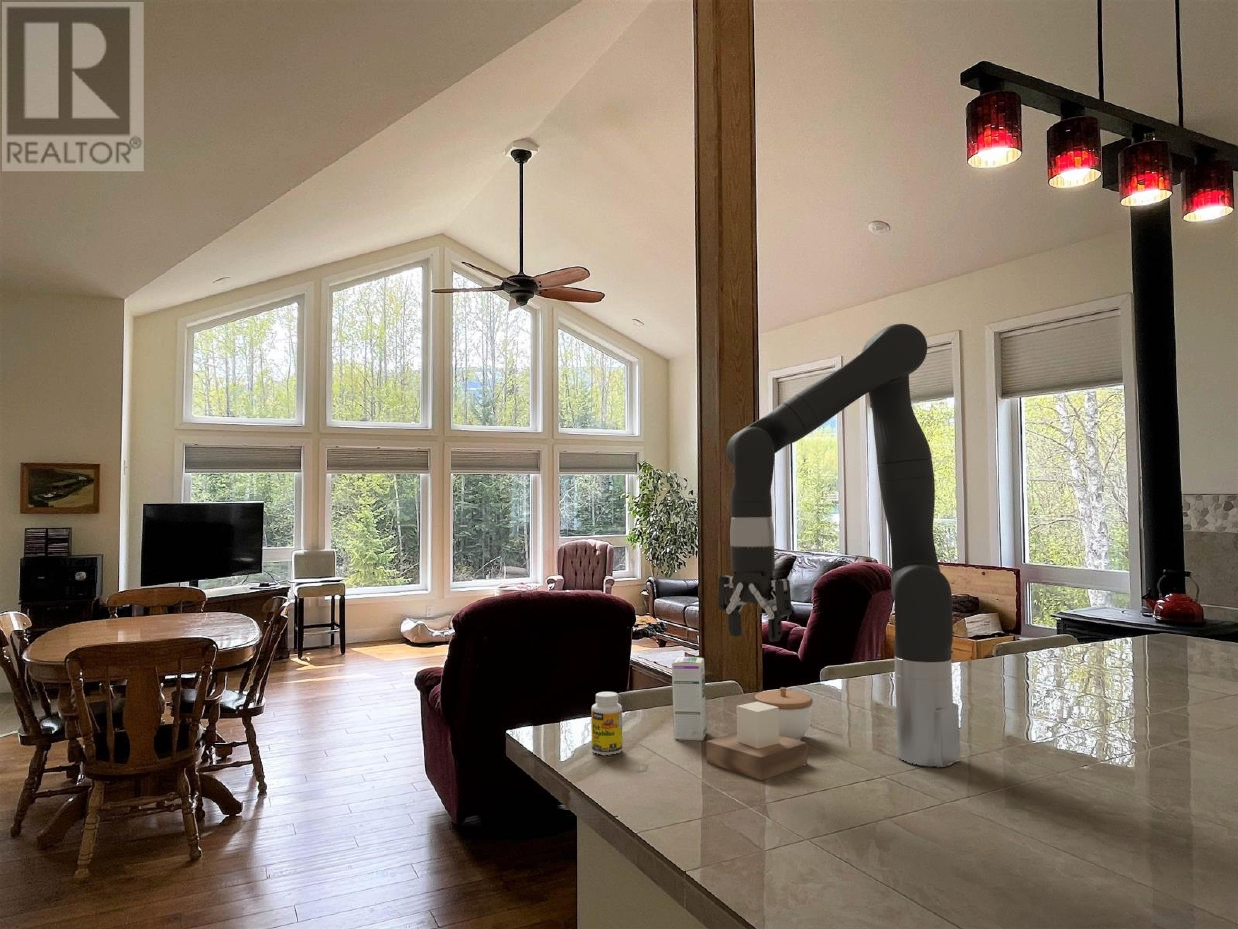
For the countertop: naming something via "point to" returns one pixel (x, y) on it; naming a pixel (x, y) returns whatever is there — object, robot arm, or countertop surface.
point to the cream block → (757, 724)
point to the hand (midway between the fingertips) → (754, 638)
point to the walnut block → (756, 756)
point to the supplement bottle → (606, 724)
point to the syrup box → (689, 698)
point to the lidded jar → (789, 711)
